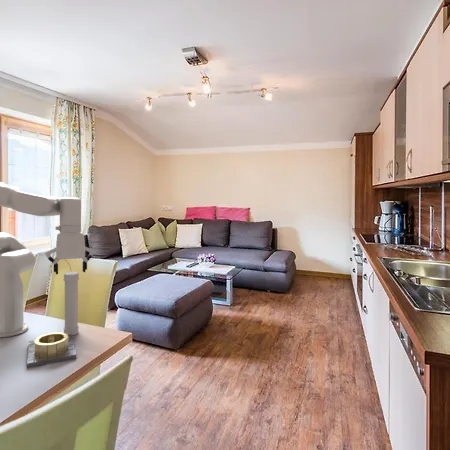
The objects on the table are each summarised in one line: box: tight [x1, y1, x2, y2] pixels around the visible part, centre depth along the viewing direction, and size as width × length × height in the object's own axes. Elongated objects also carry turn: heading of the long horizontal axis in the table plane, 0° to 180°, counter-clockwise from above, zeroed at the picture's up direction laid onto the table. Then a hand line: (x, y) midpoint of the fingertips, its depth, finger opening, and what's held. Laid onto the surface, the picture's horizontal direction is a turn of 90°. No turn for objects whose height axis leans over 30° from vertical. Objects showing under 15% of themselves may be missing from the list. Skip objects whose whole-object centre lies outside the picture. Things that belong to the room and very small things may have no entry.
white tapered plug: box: [63, 259, 80, 336], centre depth 125 cm, size 6×6×30 cm
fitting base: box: [26, 331, 77, 369], centre depth 111 cm, size 18×14×6 cm
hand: (70, 272), depth 125 cm, fingers open, 9 cm apart
